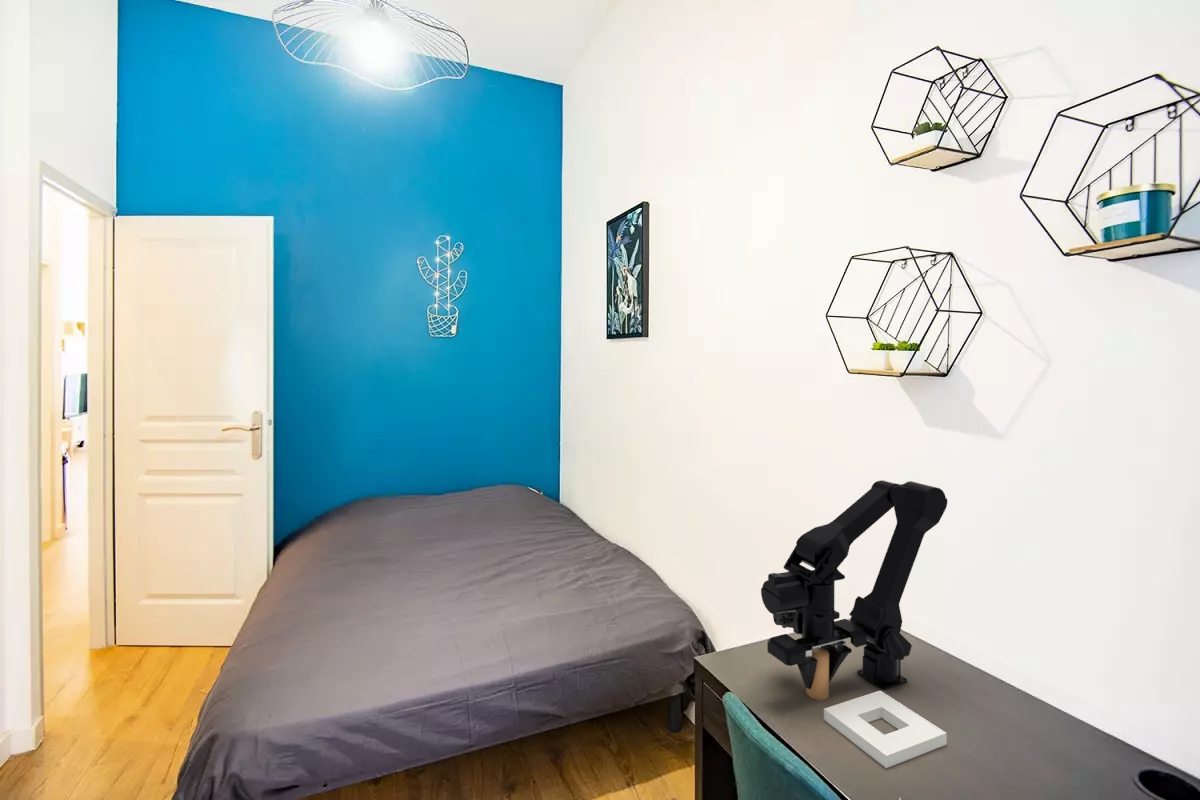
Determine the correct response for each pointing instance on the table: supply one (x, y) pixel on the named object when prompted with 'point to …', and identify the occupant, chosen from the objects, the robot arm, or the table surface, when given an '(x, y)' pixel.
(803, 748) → the table surface
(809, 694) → the peg
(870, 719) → the frame
